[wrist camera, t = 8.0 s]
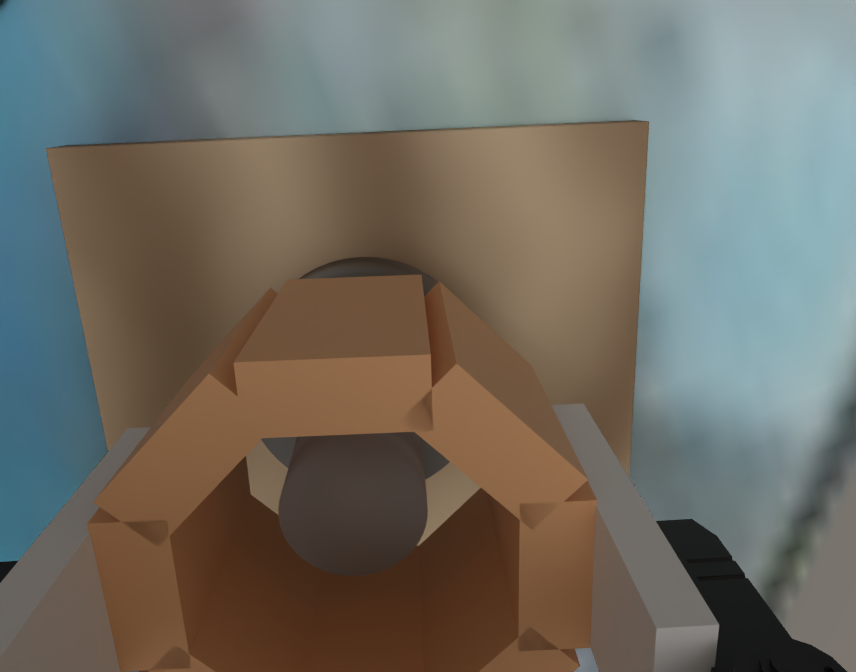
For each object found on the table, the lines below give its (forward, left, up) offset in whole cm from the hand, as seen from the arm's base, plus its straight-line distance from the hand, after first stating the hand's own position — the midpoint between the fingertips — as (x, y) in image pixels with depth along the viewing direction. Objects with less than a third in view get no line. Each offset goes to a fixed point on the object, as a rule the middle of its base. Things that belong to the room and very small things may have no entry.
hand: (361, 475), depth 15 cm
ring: (0, 0, -1) cm, 1 cm away
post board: (0, 0, -8) cm, 8 cm away
